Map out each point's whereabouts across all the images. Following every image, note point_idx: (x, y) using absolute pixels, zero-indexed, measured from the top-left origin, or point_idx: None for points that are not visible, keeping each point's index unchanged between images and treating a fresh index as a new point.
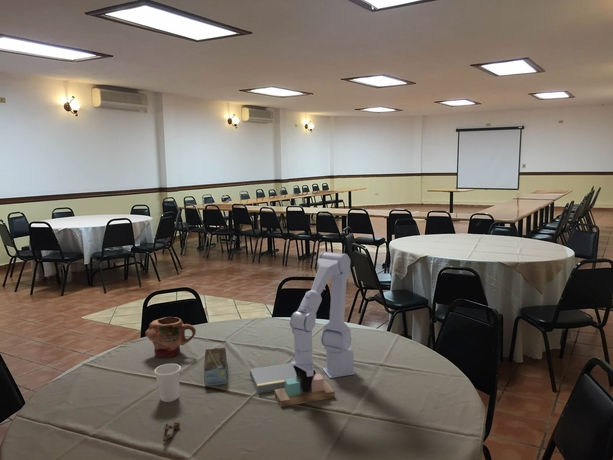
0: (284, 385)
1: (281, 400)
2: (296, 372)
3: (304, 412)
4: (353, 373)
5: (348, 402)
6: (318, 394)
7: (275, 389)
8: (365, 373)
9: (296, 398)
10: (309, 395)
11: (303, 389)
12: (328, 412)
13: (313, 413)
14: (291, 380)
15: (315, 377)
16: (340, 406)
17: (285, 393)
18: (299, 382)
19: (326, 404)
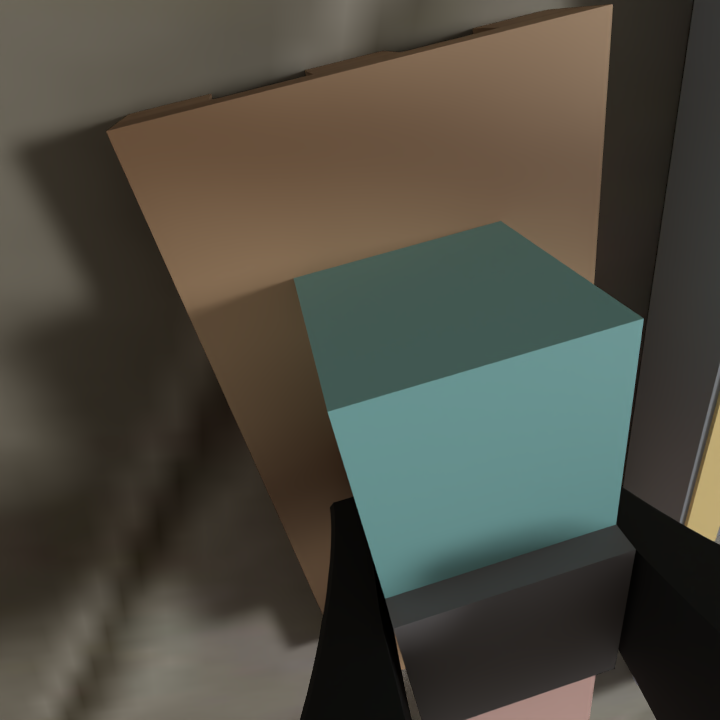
0: (707, 203)
1: (129, 152)
2: (695, 615)
3: (6, 445)
4: (636, 682)
5: (249, 702)
6: (315, 597)
7: (607, 30)
8: (616, 708)
9: (229, 397)
10: (297, 531)
11: (333, 538)
12: (55, 627)
13: (2, 527)
14: (521, 464)
15: (501, 716)
16: (182, 676)
17: (407, 232)
18: (393, 591)
19: (217, 598)
